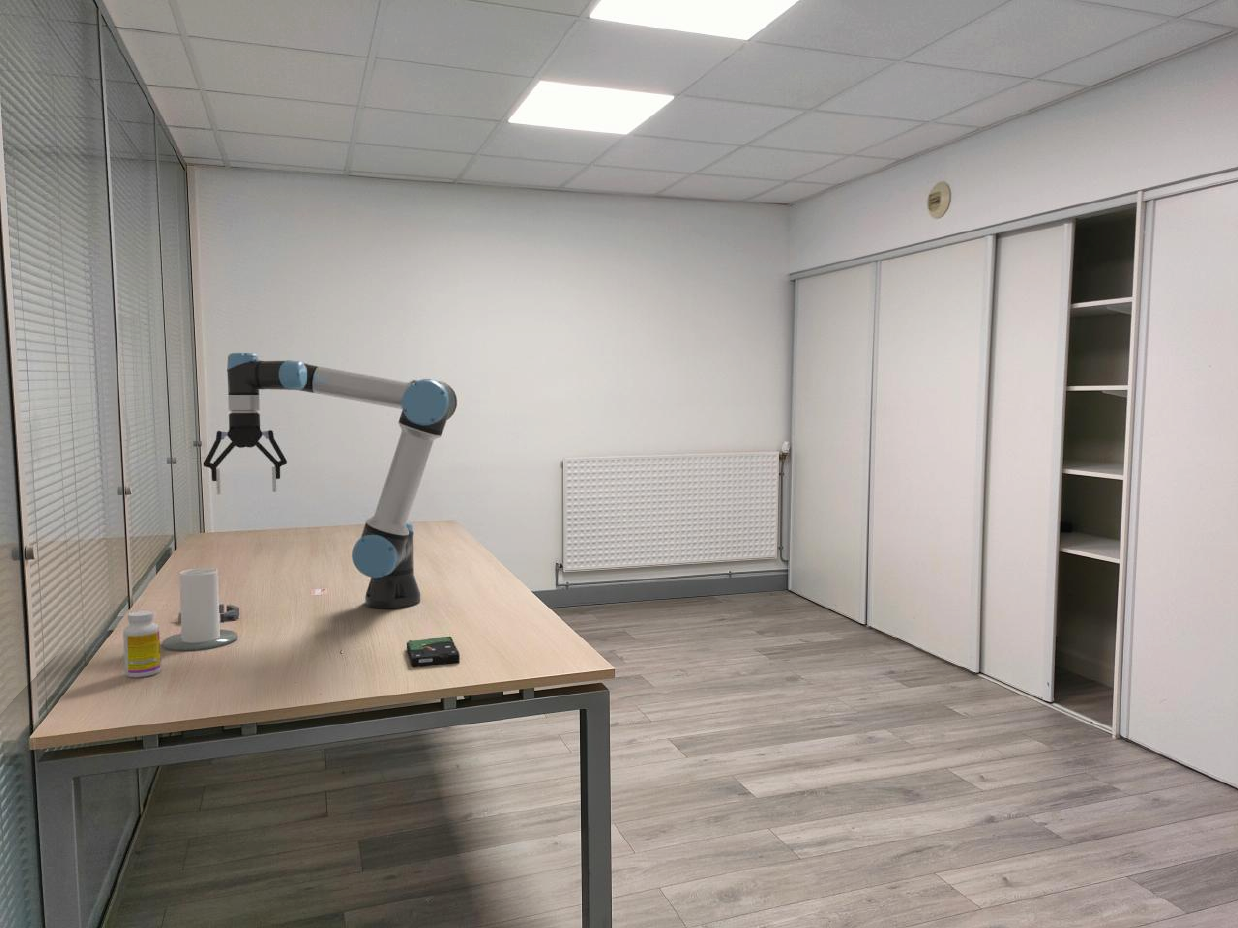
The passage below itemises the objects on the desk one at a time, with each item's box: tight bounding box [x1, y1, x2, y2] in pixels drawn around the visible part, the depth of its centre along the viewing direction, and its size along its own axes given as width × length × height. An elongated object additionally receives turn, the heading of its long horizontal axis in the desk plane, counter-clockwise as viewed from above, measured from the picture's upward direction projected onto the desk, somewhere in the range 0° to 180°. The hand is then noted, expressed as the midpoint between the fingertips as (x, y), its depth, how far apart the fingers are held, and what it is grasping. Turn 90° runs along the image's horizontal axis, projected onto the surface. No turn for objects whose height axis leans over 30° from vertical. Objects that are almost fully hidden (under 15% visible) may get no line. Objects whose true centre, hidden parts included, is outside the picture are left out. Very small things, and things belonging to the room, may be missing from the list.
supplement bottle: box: [122, 610, 162, 679], centre depth 184 cm, size 7×7×13 cm
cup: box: [178, 567, 221, 643], centre depth 208 cm, size 8×8×16 cm
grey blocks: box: [178, 603, 240, 623], centre depth 231 cm, size 17×14×2 cm
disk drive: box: [406, 636, 461, 668], centre depth 197 cm, size 10×3×15 cm
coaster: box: [161, 629, 238, 652], centre depth 209 cm, size 16×16×1 cm
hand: (246, 492), depth 233 cm, fingers open, 13 cm apart
